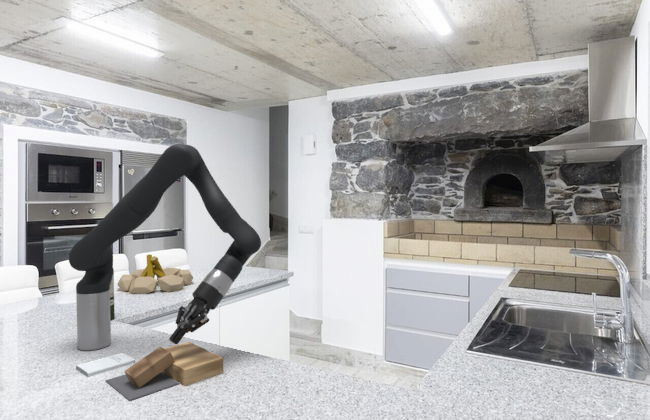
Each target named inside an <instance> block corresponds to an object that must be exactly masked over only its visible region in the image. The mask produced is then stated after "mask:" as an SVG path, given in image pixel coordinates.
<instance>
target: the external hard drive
mask: <svg viewBox="0 0 650 420" xmlns="http://www.w3.org/2000/svg"><path fill="white" fill-rule="evenodd" d="M132 363H133V364H135V363H136V359H135V358H133V357H131V356H130V355H128V354H126V353H124V352H121V353H117V354H114V355H109V356H105V357H103V358H99V359H95V360H91V361H88V362H83V363H81V364H77V365H75V369H76V370H77V371H78V372H80V373H81V374H83V375H84V376H86V377H87V378H89V377H94V376H96V375H101V374H102V373H106V371H107V372H109V371H113V370H116V369H120V368H123V367H126V366H130V365H133V364H132ZM129 364H130V365H129ZM122 366H123V367H122ZM119 367H120V368H119Z"/></svg>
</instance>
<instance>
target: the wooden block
mask: <svg viewBox="0 0 650 420" xmlns="http://www.w3.org/2000/svg"><path fill="white" fill-rule="evenodd" d="M163 348H164V349H165V350H167V351H169V352H171V354H172V356H173V358H174V361H175V362H174V363H173V364H171V365H170V366H168V367H167V368H166V369H164V370H163V371H162V373H164V374H165V375H167V376H168V377H170V378H172V379H173V380H175V381H176V382H178V383H179V384H180V385H182V386H184V387H186V386H189V385H192V384H195V383H198V382H201V381H204V380H206V379H208V378H213V377H215V376H218V375H220V374H223V373H224V357H222V356H221V355H218V354H216V353H214V352H212V351H209V350H208V349H206V348H204V347H201V346H199V345H197V344H194V343H193V342H191V341H186V342H182V343H178V344H175V345H172V346H168V347H163Z"/></svg>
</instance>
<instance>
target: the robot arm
mask: <svg viewBox="0 0 650 420" xmlns="http://www.w3.org/2000/svg"><path fill="white" fill-rule="evenodd" d="M183 176H184V177H185V178H187V180H188V181H190V183H192V185H193V186H194V187H195V189H196V190H197V192H198V194H199V196H200V198H201V200H202V203H203V204H204V206H205V209H206V211H207V213H208V215H209V216H210V217H211V219H212V221H214V223H215V224H216V225H217V227H218V228H219V229H220V231H222V233H224V234H228V235H229V236H230V237H231V239H233V241H232V243H231V244H230V245H229V247H228V248H227V250H226V252H225V254H224V255H223V256H222V257H221V258H220V259H219V260H218V262H217V263H216V264H215V266H214V267H213V268H212V269H211V270H210V271H209V272H208V273H207V274H206V275H205V277H204V278H203V280H201V282H200V283H199V284H198V286H197V287H196V288H195V290H194V291H192V297H193V299H192V300H191V301H190V302H189V303H188V304H187V306H182V305H181V306H180V307H179V309H178V312H177V315H176V318H175V324H176V326H177V327H176V329H175V330H174V332H173V333H172V334H171V335H170V337H169V339H168V340H169V341H170V342H171V343H172V344H175V345H179V344H180V341H181V340H182V339H183V338H184V336H185V335H186V334H188V333H194V332H195V331H197V330H198V329H200V328H201V327H203V326H205V325H206V324H208V323H209V321H210V318H209V317H208V314H209V313H210V310H215V309H216V308H217V307H218V305H219V304H220V302H221V301H222V300H223V299H224V297H225V296H226V295H227V293H228V292H229V291H230V289H231V286H232V284H233V283H234V282H235V281H236V279H237V278H238V276H239V275H240V274H241V272H242V270H243V267H244V266H245V264H246V262H247V261H248V260H249V259H250V257H252V255H254V254H256V253H257V252H259V250H260V248H261V247H262V240H261V238H260V235H259V234H258V232H257V231H256V229H254V227H252V226H251V225H250V224H249V223H248V222H247V221H246V220H245V219H244V218H242V217H241V215H240V214H239V213H238V211H237V210H236V208H235V207H234V206H233V204H232V203H231V202H230V201H229V199H228V198H227V197H226V195H225V194H224V193H223V191H222V190H221V188H220V186H219V185H218V184H217V182H216V181H215V179H214V177H213V176H212V174H211V172H210V170H209V168H208V167H207V165H206V163H205V161H204V159H203V156H202V155H201V153H200V152H199V150H198V149H197V148H196V147H194V146H192V145H190V144H184V143H183V144H182V143H176V144H172V145H170V146H168V147H167V148H166V149H165V150H164V151H163V152H162V154H161V155H160V156H159V157H158V159H157V160H156V161H155V163H154V164H153V165H152V167H151V168H150V169H149V171H147V173H146V174H145V175H144V176H143V177H142V178H141V179H140V180H139V181H138V182H137V183H136V184H135V185H134V186H132V188H131V189H130V190H129V191H128V192H127V193H126V194H125V195H124V196H123V197H122V198H120V200H119V201H118V202H117V203H116V204H115V206H113V208H112V209H111V210H110V211H109V212H108V213H107V214H106V215H105V216H104V217H103V218H102V219H101V220H100V221H99V223H98V224H97V225H96V226H95V227H93V229H91V230H90V231H89V232H88V233H87V234H85V235H84V236H82V238H80V240H78V241H77V242H76V243H75V244H74V245H73V246H72V247H71V249H70V251H69V254H68V263H69V265H70V267H71V268H73V269H74V270H76V271H78V272H79V271H80V272H84V276H83V277H82V278H81V279H80V280H79V281H78V282H77V284H76V286H75V292H76V293H75V294H76V295H75V297H76V298H75V300H76V301H75V302H76V328H77V329H76V335H77V336H76V337H77V338H76V339H77V343H76V344H77V349H78V350H80V351H95V350H101V349H103V348H106V347H108V346H110V345H111V343H112V338H111V337H112V333H111V331H112V329H111V326H112V325H111V324H112V323H111V321H112V320H111V321H110V283H111V281H112V276H113V270H114V255H113V254H114V253H113V248H112V245H113V244H114V243H116V242H117V241H118V240H120V239H122V238H124V237H125V236H127V235H129V234H130V233H132V232H133V231H135V230H137V228H139V227H140V226H142V224H143V223H144V222H145V221H147V219H148V218H149V217H151V215H152V214H153V213H154V212H155V210H156V208H157V207H158V206H159V204H160V202H161V199H162V198H163V195H164V194H165V192H167V190H168V189H169V188H170V187H171V186H172V185H173V184H175V183H176V182H177V181H178V180H179V179H181V178H182V177H183Z"/></svg>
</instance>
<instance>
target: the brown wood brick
mask: <svg viewBox="0 0 650 420" xmlns="http://www.w3.org/2000/svg"><path fill="white" fill-rule="evenodd" d="M164 348H165V347H162V346H158V347H157V348H156V349H154V350H152V351H150V353H149V354H147V355H145V356H144V357H142V358H141V359H140V360H138V361H137V362H135V363H133V364H131V365H130V367H128V368H126V369H125V370H124V375H125V374H126V376H127V378H128V380H129V381H130V382H131V383H133V384H134V385H135V386H137V387H138V388H140V387H141V386H143V385H144V384H145V383H147V382H148V381H150V380H151V379H152V378H154V377H155V376H156V375H158V374H159V373H160V372H162V371H163V370H164V369H166V368H167V367H168V366H170V365H171V364H173V363H174V362H175V361H174V358H173V356H172V354H171V352H169V351H167V350H165V349H164ZM162 373H163V372H162Z"/></svg>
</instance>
